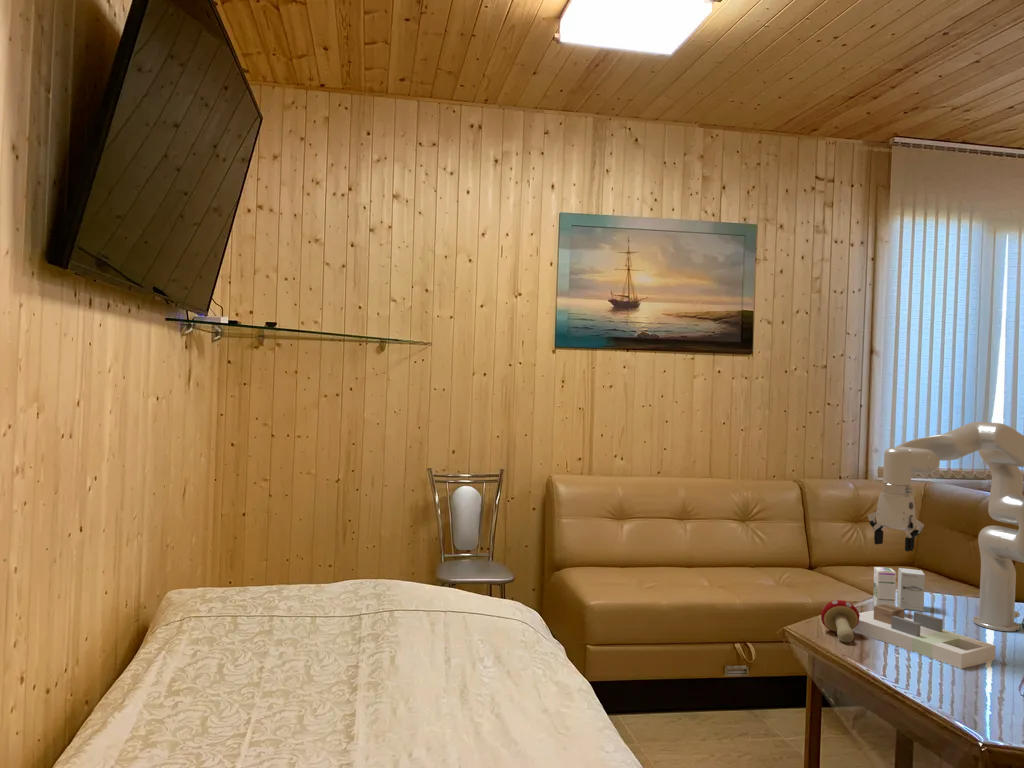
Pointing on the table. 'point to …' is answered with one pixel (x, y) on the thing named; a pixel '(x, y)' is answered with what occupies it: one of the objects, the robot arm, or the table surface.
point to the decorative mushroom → (840, 619)
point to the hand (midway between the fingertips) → (893, 547)
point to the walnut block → (887, 613)
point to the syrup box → (884, 586)
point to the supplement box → (910, 589)
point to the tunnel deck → (927, 639)
